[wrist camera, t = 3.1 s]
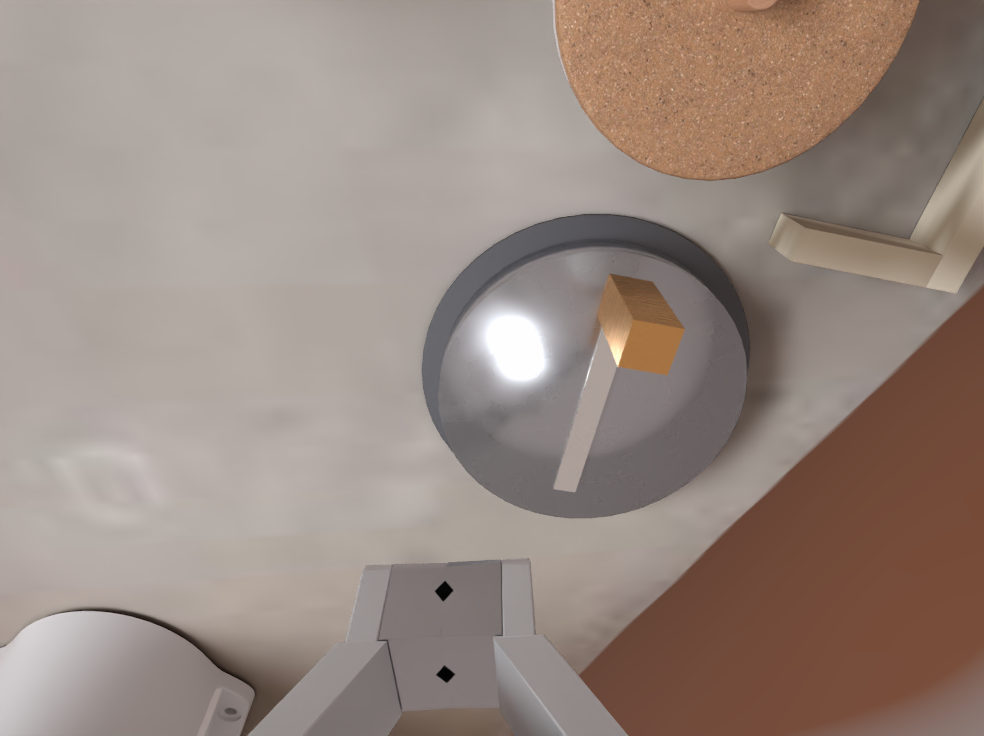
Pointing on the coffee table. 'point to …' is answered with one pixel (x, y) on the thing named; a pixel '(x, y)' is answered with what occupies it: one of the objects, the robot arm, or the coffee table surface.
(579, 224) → the base
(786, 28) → the lidded jar
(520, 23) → the coffee table surface
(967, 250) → the cream u-shaped bracket
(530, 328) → the turntable
